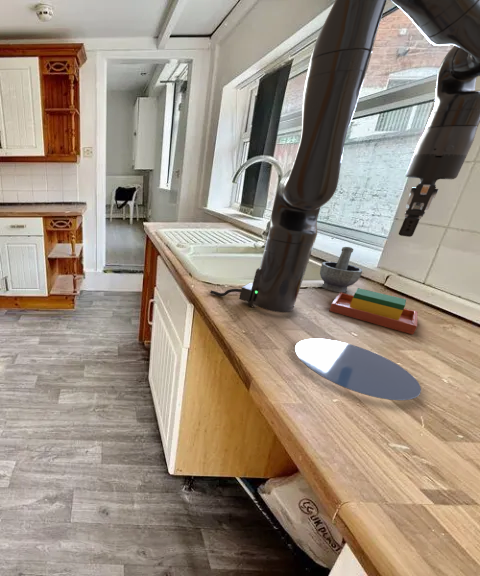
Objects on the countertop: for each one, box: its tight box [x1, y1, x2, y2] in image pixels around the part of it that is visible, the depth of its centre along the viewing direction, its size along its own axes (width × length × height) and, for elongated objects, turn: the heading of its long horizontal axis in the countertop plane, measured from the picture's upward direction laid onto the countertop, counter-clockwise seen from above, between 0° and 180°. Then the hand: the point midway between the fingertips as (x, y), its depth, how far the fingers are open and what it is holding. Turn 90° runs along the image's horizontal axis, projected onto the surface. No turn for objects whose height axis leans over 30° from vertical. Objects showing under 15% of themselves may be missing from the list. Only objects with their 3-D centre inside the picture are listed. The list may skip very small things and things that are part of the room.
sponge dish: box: [328, 292, 419, 335], centre depth 74 cm, size 15×11×2 cm
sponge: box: [350, 287, 407, 320], centre depth 74 cm, size 9×6×4 cm, turn 44°
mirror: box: [294, 338, 422, 401], centre depth 53 cm, size 17×17×1 cm
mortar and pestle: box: [319, 246, 363, 293], centre depth 90 cm, size 11×9×12 cm
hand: (405, 233), depth 67 cm, fingers open, 8 cm apart
